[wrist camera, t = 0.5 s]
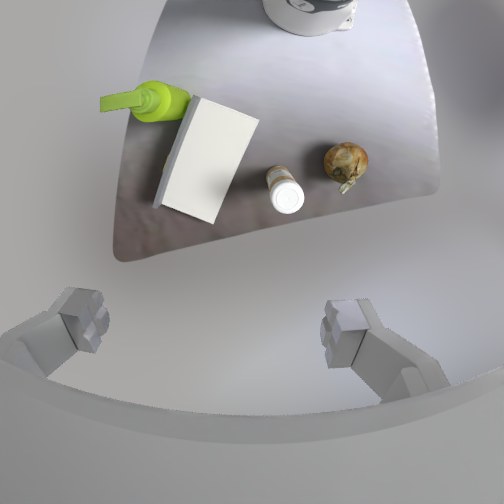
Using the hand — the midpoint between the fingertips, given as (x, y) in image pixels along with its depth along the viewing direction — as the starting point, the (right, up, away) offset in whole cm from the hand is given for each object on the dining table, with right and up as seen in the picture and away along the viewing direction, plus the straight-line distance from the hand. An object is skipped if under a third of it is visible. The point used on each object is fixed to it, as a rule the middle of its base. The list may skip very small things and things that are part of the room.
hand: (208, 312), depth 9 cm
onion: (+18, +19, +37) cm, 45 cm away
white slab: (-6, +18, +37) cm, 42 cm away
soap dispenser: (-12, +28, +32) cm, 44 cm away
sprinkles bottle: (+6, +16, +39) cm, 42 cm away
